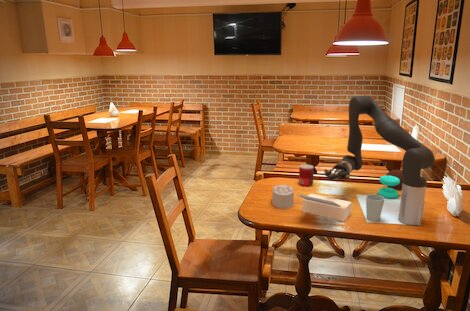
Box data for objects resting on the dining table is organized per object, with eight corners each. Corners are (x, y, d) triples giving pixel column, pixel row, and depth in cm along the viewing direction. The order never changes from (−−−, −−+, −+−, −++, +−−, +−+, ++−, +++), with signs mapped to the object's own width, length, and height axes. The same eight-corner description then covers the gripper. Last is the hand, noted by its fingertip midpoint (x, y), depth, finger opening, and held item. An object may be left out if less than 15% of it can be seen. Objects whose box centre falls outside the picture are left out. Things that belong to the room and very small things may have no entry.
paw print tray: (292, 199, 189) (293, 183, 186) (293, 209, 176) (294, 192, 174) (272, 198, 190) (272, 182, 187) (272, 208, 177) (272, 191, 175)
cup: (385, 222, 162) (387, 200, 160) (368, 222, 162) (370, 200, 159) (377, 215, 169) (379, 194, 167) (361, 215, 169) (363, 194, 166)
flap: (340, 205, 162) (333, 201, 152) (340, 207, 162) (332, 203, 152) (306, 198, 171) (297, 193, 161) (306, 199, 170) (297, 195, 161)
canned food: (312, 187, 207) (313, 168, 204) (298, 186, 208) (299, 167, 205) (312, 183, 214) (313, 164, 211) (298, 182, 215) (299, 164, 213)
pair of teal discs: (379, 174, 198) (399, 175, 195) (377, 191, 201) (397, 193, 197) (379, 179, 189) (401, 181, 186) (378, 197, 191) (398, 200, 188)
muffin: (381, 187, 207) (383, 170, 204) (389, 182, 215) (390, 166, 212) (403, 192, 199) (405, 175, 196) (410, 187, 207) (412, 170, 204)
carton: (350, 214, 171) (351, 201, 169) (343, 221, 163) (345, 208, 161) (309, 204, 181) (310, 193, 180) (302, 211, 174) (302, 199, 172)
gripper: (329, 160, 186) (317, 168, 172) (356, 164, 179) (345, 172, 165) (329, 174, 188) (316, 183, 174) (355, 179, 181) (344, 188, 167)
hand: (330, 178), depth 170 cm, fingers closed
